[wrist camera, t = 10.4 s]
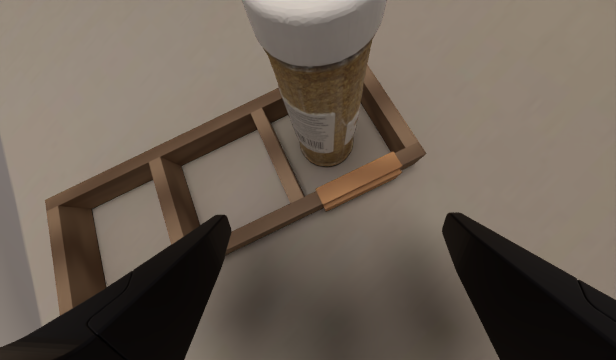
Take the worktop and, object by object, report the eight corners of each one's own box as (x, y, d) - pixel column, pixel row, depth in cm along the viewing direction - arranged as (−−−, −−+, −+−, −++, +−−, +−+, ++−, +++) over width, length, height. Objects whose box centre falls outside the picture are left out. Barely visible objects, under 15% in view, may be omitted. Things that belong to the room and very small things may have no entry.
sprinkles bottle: (363, 146, 18) (439, -60, 5) (321, 178, 18) (292, 45, 5) (330, 108, 20) (325, -136, 7) (289, 139, 19) (200, -52, 6)
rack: (416, 168, 18) (431, 157, 15) (99, 321, 17) (57, 337, 15) (354, 71, 20) (357, 46, 17) (79, 203, 20) (40, 199, 17)
